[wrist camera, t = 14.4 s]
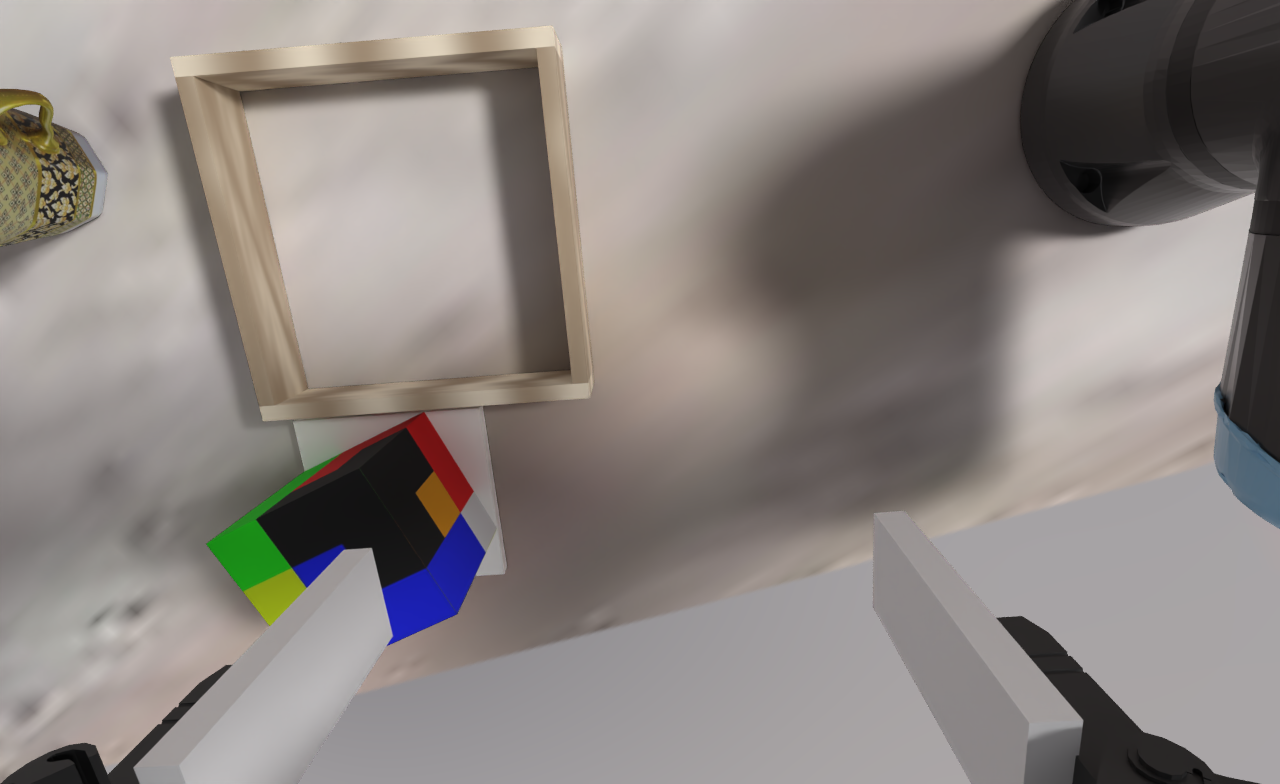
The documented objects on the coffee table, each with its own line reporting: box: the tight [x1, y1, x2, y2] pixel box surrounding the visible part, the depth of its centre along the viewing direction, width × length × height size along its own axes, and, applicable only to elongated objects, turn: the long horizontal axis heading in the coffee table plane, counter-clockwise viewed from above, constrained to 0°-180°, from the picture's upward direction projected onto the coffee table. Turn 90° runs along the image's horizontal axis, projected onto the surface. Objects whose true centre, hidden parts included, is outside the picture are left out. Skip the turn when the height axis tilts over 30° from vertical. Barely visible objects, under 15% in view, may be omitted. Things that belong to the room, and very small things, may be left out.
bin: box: [170, 26, 594, 422], centre depth 37 cm, size 21×21×4 cm
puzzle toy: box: [206, 412, 497, 646], centre depth 38 cm, size 10×10×10 cm
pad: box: [293, 406, 507, 576], centre depth 44 cm, size 13×13×1 cm
